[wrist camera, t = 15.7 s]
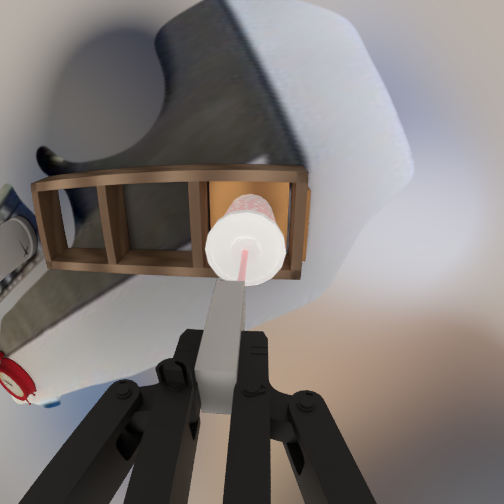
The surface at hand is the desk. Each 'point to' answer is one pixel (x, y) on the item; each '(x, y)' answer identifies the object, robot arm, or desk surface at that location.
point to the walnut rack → (221, 197)
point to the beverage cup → (246, 242)
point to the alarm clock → (15, 379)
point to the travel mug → (15, 244)
